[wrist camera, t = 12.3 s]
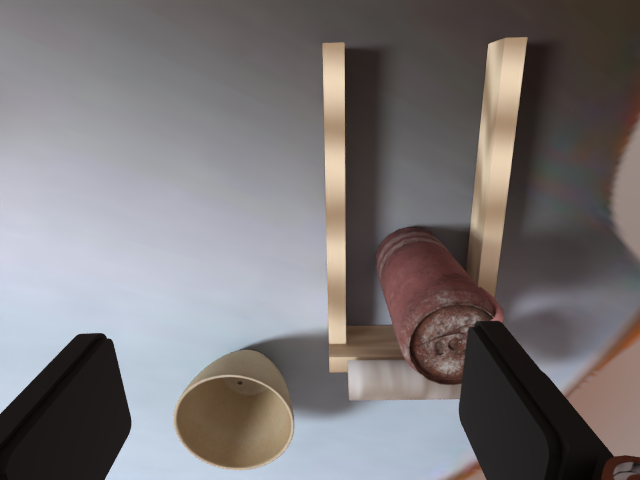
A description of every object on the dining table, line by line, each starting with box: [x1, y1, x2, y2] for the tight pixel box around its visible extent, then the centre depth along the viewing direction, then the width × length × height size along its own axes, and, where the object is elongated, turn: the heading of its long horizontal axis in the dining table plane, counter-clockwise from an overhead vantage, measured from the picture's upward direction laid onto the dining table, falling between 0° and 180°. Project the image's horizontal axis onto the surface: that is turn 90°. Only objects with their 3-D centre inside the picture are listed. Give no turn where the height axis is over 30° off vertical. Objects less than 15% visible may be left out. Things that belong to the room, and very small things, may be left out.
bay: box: [323, 37, 527, 401], centre depth 30 cm, size 28×16×10 cm, turn 1°
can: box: [375, 227, 504, 386], centre depth 30 cm, size 6×6×14 cm
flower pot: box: [174, 350, 294, 470], centre depth 37 cm, size 10×10×7 cm
